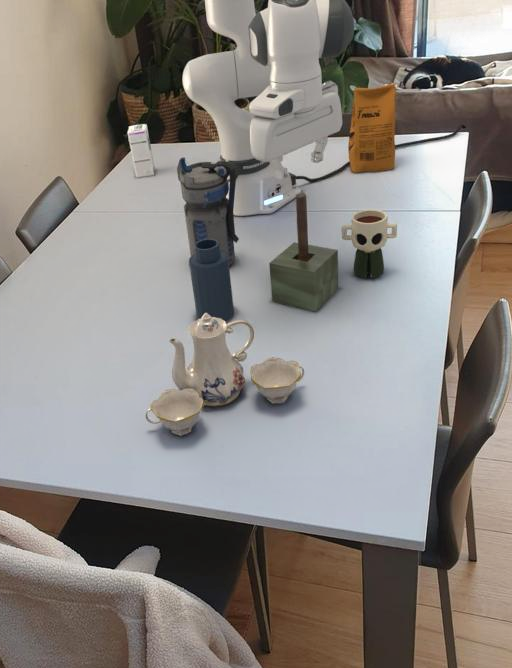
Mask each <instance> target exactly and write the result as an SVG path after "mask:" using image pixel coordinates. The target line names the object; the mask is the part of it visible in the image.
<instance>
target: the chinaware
mask: <svg viewBox="0 0 512 668" xmlns="http://www.w3.org/2000/svg"><path fill="white" fill-rule="evenodd" d="M235 325H245V326H247V328H248V330H249V336H248V340H247V342H246V343H245V344H244V346H243V347H241V348H240V349H239V350H237V351H235V352H234V353H233V354H232V353H231V351H230V350H229V347H228V346H227V340H226V334H230V335H231V334H233V333H234V329H233V327H232V326H235ZM187 330H188V333H189V335H190V336H191V339H192V341H193V343H192V344H193V350H194V351H193V356H192V360H191V362H190V364H189V366H188V368H187V369H186V353H185V346H184V344H183V343H182V341H181V340H179V339H177V338H170V339H169V340H168V343H171V344H172V345H173V346H174V349H175V350H174V357H173V362H172V368H171V378H172V382H173V383H174V386H176V388H177V389H175V388H170V389H169V388H168V389H165V390H164V391H163V392H162V393H160V395H159V397H158V398H157V399H154V400H153V401H152V403H151V404H150V408H148V409H147V410H146V412H145V419H146V421H147V422H148V423H150V424H153V425H157V424H160V423H161V425H162V427H163V428H166V429H168V430H170V431H171V433H172V434H174V435H178V436H181V437H182V436H184V435H186V434H189V433H191V432H192V428H193V427H194V426H195V425H196V423H197V422H198V419H199V418H200V413H201V410H202V409H203V407H204V406H205V407H211V408H213V407H223V406H225V405H229V404H230V403H233V402H234V401H235V400H236V399H237V398H239V396H240V395H241V390H242V388H244V386H245V385H246V378H245V375H244V368H243V366H242V364H241V363H240V362H245V361H246V360H247V358H248V353H247V352H246V351H247V350H248V349H249V348H250V346H251V345H252V343H253V341H254V338H255V331H254V327H253V326H252V324H250V323H249V322H248V321H246V320H244V319H236V320H232V321H230V322H228V323H227V321H226V322H225V321H224V320H222V319H221V318H216V317H211V316H210V315H209V314H208V313H204V315H203V316H202V318H201V319H198V318H197V320H195V321H193V322H192V323H191V324H190V325H188V328H187ZM304 376H305V369H304V368H303V367H302V366H301V365H299V363H298V361H294V360H284V359H283V358H281V357H274V356H273V357H270V358H267V359H266V360H264V361H263V362H262V363H256V364H254V365H252V366H251V367H250V380H251V383H252V384H253V385H254V386H255V387H256V388H257V390H258V392H259V393H260V394H261V395H262V396H263V397H265V398H266V399H267V401H269V402H270V403H271V404H283V403H285V402H286V401H287V399H288V398H289V396H291V394H292V393H293V392H294V391H295V388H296V387H297V383H299V382H301V380H302V379H303V377H304ZM149 412H152V413H153V414H154V416H155V417H156V418H157V419H158V421H153V420H151V419H149V417H148V413H149Z"/></svg>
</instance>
